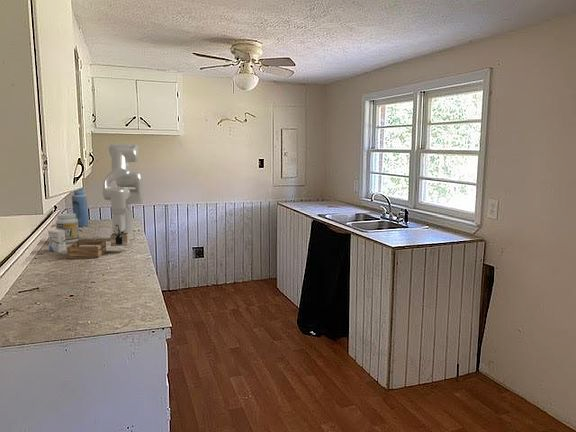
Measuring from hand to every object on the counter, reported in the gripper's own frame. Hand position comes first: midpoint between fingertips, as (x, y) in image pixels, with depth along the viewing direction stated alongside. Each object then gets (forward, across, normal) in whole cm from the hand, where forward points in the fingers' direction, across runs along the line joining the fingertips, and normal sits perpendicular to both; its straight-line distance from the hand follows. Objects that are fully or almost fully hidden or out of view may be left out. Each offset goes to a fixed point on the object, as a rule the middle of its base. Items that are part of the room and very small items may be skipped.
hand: (120, 242), depth 249 cm
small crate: (+1, 0, 0) cm, 1 cm away
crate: (+5, +7, -16) cm, 18 cm away
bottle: (+8, -84, -49) cm, 97 cm away
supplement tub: (+7, -30, -39) cm, 49 cm away
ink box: (+6, -5, -36) cm, 37 cm away
